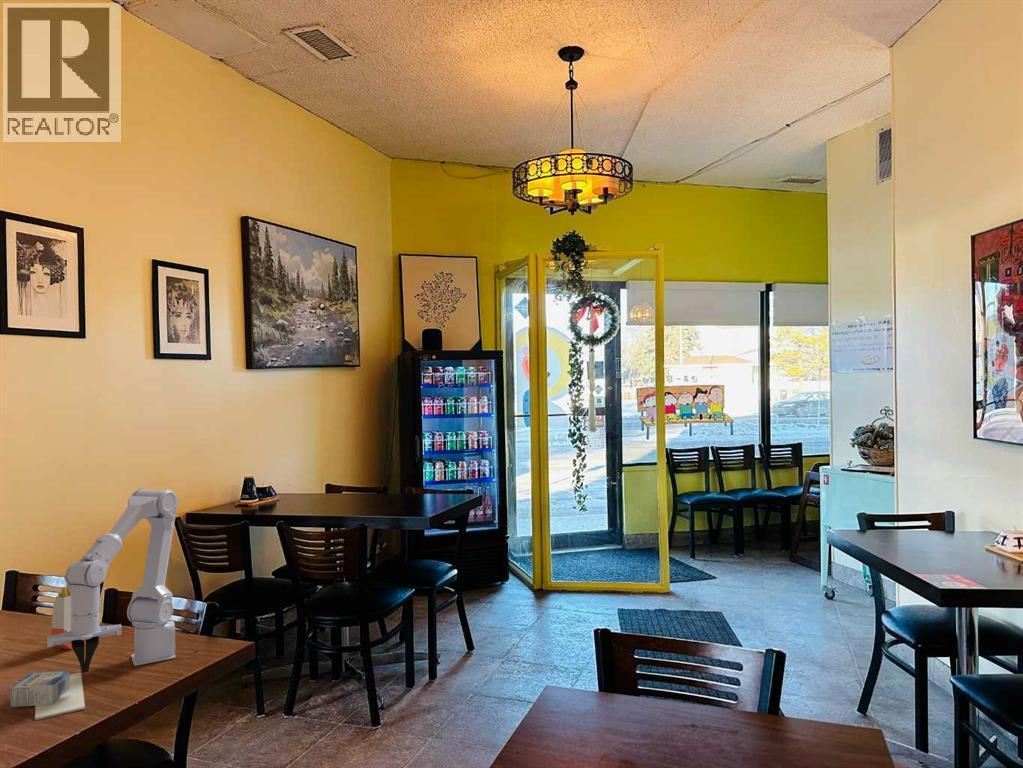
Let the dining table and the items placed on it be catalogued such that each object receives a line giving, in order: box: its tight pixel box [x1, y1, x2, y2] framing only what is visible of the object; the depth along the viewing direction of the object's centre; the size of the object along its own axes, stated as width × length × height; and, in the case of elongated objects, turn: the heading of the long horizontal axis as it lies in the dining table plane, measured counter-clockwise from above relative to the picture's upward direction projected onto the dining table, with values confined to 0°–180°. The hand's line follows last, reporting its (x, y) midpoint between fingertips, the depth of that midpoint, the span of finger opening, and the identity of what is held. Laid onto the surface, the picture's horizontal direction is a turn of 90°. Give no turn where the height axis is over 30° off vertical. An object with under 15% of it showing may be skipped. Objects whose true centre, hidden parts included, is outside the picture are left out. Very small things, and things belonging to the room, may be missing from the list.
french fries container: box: [50, 583, 86, 651], centre depth 186 cm, size 5×11×18 cm, turn 166°
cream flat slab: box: [34, 672, 86, 721], centre depth 155 cm, size 9×22×1 cm, turn 34°
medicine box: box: [9, 670, 70, 708], centre depth 153 cm, size 8×4×9 cm
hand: (84, 671), depth 157 cm, fingers closed
